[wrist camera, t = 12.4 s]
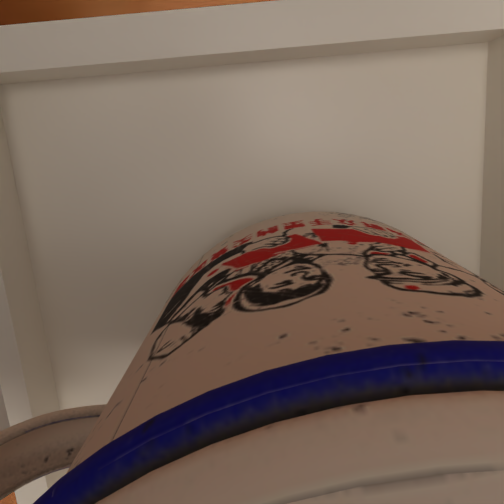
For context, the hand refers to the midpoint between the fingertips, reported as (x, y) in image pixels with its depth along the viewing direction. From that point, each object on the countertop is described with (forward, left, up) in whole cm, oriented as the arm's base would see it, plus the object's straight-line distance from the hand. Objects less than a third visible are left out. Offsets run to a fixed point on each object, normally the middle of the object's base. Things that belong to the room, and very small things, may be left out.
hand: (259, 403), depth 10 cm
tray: (0, 0, -4) cm, 4 cm away
